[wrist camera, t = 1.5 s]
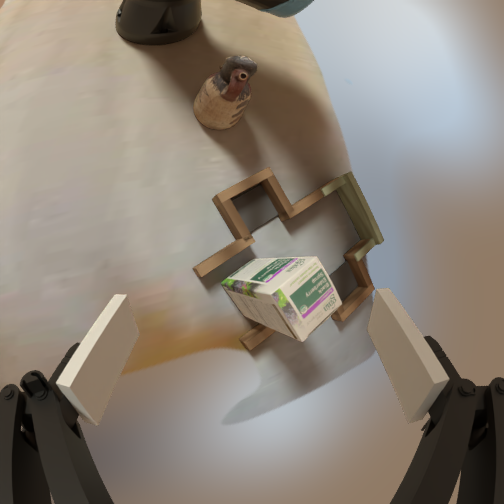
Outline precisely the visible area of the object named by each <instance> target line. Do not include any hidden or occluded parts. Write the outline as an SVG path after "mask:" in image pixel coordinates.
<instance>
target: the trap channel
mask: <svg viewBox="0 0 504 504" xmlns="http://www.w3.org/2000/svg"><path fill="white" fill-rule="evenodd" d="M259 183H260V185H259V186H258V187H256V188H254V189H252V190H250V191H249V192H247V193H245V194H243V195H241V196H240V197H238V198H236V199H234V200H232V201H231V199H232V198H233V197H235V196H237V195H239V194H241V193H242V192H244V191H246V190H248V189H250V188H251V187H253V186H255V185H257V184H259ZM334 190H336V191H337V193H338V194H339V196H340V198H341V200H342V202H343V204H344V206H345V208H346V210H347V212H348V214H349V216H350V218H351V220H352V222H353V224H354V226H355V228H356V230H357V233H358V235H359V237H360V239H361V240H360V241H359V242H358V243H357V244H356V245H354V246H353V247H352V248H351V249H350V250H349V251H348V252H347V253H345V254H344V255H343V256H344V258H345V260H346V262H344V263H343V264H342V265H341V266H340V267H339V268H338V269H337V270H335V271H334V272H333V273H332V274H331V275H330V276H329V277H330V279H331V281H332V283H333V285H334V287H335V289H336V291H337V293H338V295H339V297H340V300H341V302H342V301H343V300H344V299H345V298H346V297H347V296H348V295H349V294H350V293H351V292H352V291H353V290H354V289H355V288H356V287H357V286H358V287H357V288H356V289H355V290H354V291H353V292H352V293H351V294H350V295H349V296H348V297H347V298H346V299H345V300H344V301H343V302H342V305H341V306H340V307H339V308H338V309H337V310H336V311H335V312H334V313H333V314H332V315H331V317H332V319H333V320H338V321H342V322H343V321H344V320H345V319H346V318H347V317H348V316H349V315H350V314H351V313H352V312H353V311H354V310H355V309H356V308H357V307H358V306H359V305H360V304H361V303H362V302H363V301H364V300H365V299H366V298H367V297H368V296H369V295H370V294H371V293H372V291H373V290H374V289H375V288H374V286H373V283H372V281H371V279H370V276H369V274H368V272H367V269H366V267H365V265H364V263H363V260H362V257H363V256H364V255H365V254H367V253H368V252H369V251H370V249H372V248H373V247H374V246H375V245H377V244H381V243H382V242H383V241H384V239H383V237H382V234H381V232H380V230H379V227H378V225H377V223H376V221H375V219H374V216H373V214H372V212H371V210H370V208H369V206H368V203H367V202H366V199H365V197H364V195H363V193H362V191H361V189H360V187H359V185H358V183H357V181H356V179H355V178H354V176H353V174H352V172H349V173H346V174H344V175H342V176H339V177H337V178H335V179H333V180H332V181H330V182H328V183H327V184H325V185H323V186H322V187H320V188H318V189H317V190H315V191H314V192H312V193H310V194H309V195H307V196H305V197H304V198H302V199H301V200H299V201H297V202H296V203H294V204H293V205H291V204H290V202H289V200H288V198H287V197H286V195H285V193H284V191H283V190H282V188H281V186H280V184H279V183H278V181H277V179H276V178H275V176H274V174H273V172H272V171H271V169H270V167H268V168H266V169H264V170H262V171H260V172H258V173H256V174H254V175H252V176H250V177H248V178H247V179H245V180H243V181H241V182H239V183H237V184H235V185H233V186H231V187H230V188H228V189H226V190H224V191H222V192H220V193H218V194H217V195H216V196H215V197H214V198H213V199H212V200H213V202H214V204H215V205H216V207H217V209H218V210H219V212H220V214H221V216H222V217H223V219H224V221H225V222H226V224H227V226H228V227H229V229H230V231H231V232H232V234H233V236H234V237H235V239H236V240H235V241H234V242H232V243H231V244H229V245H228V246H226V247H225V248H223V249H221V250H220V251H218V252H217V253H215V254H214V255H212V256H211V257H209V258H207V259H206V260H204V261H203V262H201V263H200V264H198V265H197V266H195V267H194V268H193V270H194V272H195V273H196V275H197V276H198V277H203V276H204V275H206V274H207V273H209V272H210V271H212V270H213V269H215V268H216V267H218V266H219V265H221V264H222V263H224V262H225V261H227V260H228V259H230V258H231V257H233V256H234V255H236V254H237V253H239V252H240V251H242V250H243V249H245V248H246V247H248V246H249V245H251V244H252V243H254V242H255V240H254V239H253V237H252V235H251V233H250V232H251V231H253V230H255V229H256V228H258V227H259V226H261V225H262V224H264V223H266V222H267V221H269V220H270V219H272V218H274V217H275V216H277V215H278V216H279V218H280V220H281V221H284V220H288V219H291V218H292V217H294V216H295V215H297V214H298V213H300V212H301V211H303V210H304V209H306V208H307V207H309V206H310V205H312V204H313V203H315V202H317V201H318V200H320V199H321V198H323V197H324V196H327V195H328V194H330V193H331V192H333V191H334ZM275 331H276V330H274V329H271V328H269V327H267V326H265V325H262V324H260V323H259V324H258V325H257V326H256V327H254V328H253V329H252V330H250V331H249V332H248V333H246V334H245V335H244V336H242V337H241V338H239V340H240V341H241V343H242V344H243V346H245V347H246V348H247V349H249V350H250V351H251V350H252V349H253V348H255V347H256V346H257V345H258V344H260V343H261V342H262V341H264V340H265V339H266V338H267V337H269V336H270V335H271V334H273V333H274V332H275Z"/></svg>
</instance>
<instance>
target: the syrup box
mask: <svg viewBox="0 0 504 504" xmlns="http://www.w3.org/2000/svg"><path fill="white" fill-rule="evenodd" d="M221 284H222V286H223V287H224V289H225V290H226V291H227V293H228V294H229V296H230V297H231V298H232V300H233V301H234V303H235V304H236V305H237V307H238V308H239V310H240V311H241V312H242V314H243V315H244V316H245V317H247V318H250V319H252V320H254V321H256V322H258V323H260V324H262V325H265V326H267V327H269V328H271V329H274V330H276V331H278V332H280V333H282V334H285V335H287V336H289V337H291V338H294V339H296V340H298V341H301V342H303V341H304V340H305V339H306V338H307V337H308V336H309V335H310V334H311V333H312V332H313V331H315V330H316V329H317V328H318V327H319V326H320V325H322V324H323V323H324V322H325V321H326V320H327V319H328V318H329V317H330V316H331V315H332V314H333V313H334V312H335V311H336V310H337V309H338V308H339V307H340V306H341V305H342V302H341V300H340V297H339V295H338V293H337V291H336V289H335V287H334V285H333V283H332V281H331V279H330V277H329V275H328V274H327V272H326V270H325V269H324V267H323V265H322V264H321V262H320V261H319V259H318V258H317V257H316V256H312V257H289V258H266V259H252V260H251V261H249V262H248V263H247V264H245V265H244V266H242V267H241V268H239V269H238V270H237V271H235V272H234V273H233V274H231V275H230V276H229V277H227V278H226V279H225V280H223V281H222V282H221Z"/></svg>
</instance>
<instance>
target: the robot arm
mask: <svg viewBox="0 0 504 504" xmlns="http://www.w3.org/2000/svg"><path fill="white" fill-rule="evenodd" d="M236 1H239V2H241V3H244V4H246V5H249V6H251V7H254V8H256V9H257V10H260V11H263V12H267V13H270V14H273V15H275V16H278V17H283V18H286V17H291V16H293V15H295V14H297V13H299V12H300V11H302V10H303V9H304V8H306V7H307V6H308V5H309V4H311V3H312V1H314V0H236ZM201 15H202V12H201V0H123V2H122V4H121V6H120V7H119V9H118V12H117V15H116V30H117V32H118V33H119V34H120V35H121V36H122V37H123V38H125V39H127V40H129V41H131V42H135V43H139V44H146V45H161V44H168V43H173V42H177V41H180V40H182V39H184V38H186V37H188V36H190V35H191V34H192V33H193V32H194V31H195V30H196V29H197V27H198V25H199V22H200V19H201ZM367 331H368V333H369V335H370V337H371V339H372V342H373V344H374V346H375V348H376V350H377V352H378V354H379V356H380V359H381V361H382V363H383V365H384V367H385V370H386V372H387V374H388V376H389V379H390V381H391V383H392V386H393V388H394V390H395V392H396V395H397V397H398V400H399V402H400V404H401V407H402V410H403V412H404V414H405V417H406V419H407V422H408V423H412V422H415V421H418V420H421V419H423V418H424V416H425V415H426V413H427V412H429V414H430V419H429V420H428V421H427V423H426V424H425V425H424V426H423V428H422V429H421V430H422V431H423V430H424V429H425V431H424V433H423V436H422V439H421V441H420V444H419V446H418V449H417V451H416V453H415V456H414V458H413V460H412V462H411V464H410V466H409V468H408V471H407V473H406V475H405V477H404V479H403V481H402V483H401V484H400V486H399V488H398V490H397V492H396V494H395V496H394V497H393V499H392V501H391V502H390V504H448V503H449V501H450V498H451V496H452V493H453V491H454V488H455V485H456V482H457V479H458V477H459V474H460V471H461V477H460V485H459V492H458V498H457V504H504V379H503V378H500V377H498V378H495V379H493V380H492V381H491V383H490V384H489V386H476V385H475V384H474V383H473V382H472V381H470V380H468V379H461V377H460V376H459V374H458V373H457V371H456V369H455V368H454V366H453V365H452V363H451V362H450V360H449V359H448V357H446V354H445V353H444V351H442V348H441V347H440V345H439V344H438V342H437V341H436V340H434V339H433V338H432V337H430V336H425V337H423V336H422V334H421V333H420V331H419V330H418V328H417V327H416V325H415V324H414V323H413V321H412V320H411V318H410V317H409V315H408V314H407V312H406V311H405V309H404V308H403V307H402V306H401V304H400V303H399V301H398V300H397V298H396V297H395V296H394V294H393V293H392V292H391V290H390V289H389V288H383V289H376V294H375V298H374V302H373V307H372V311H371V315H370V319H369V323H368V327H367ZM138 336H139V331H138V328H137V325H136V322H135V319H134V316H133V313H132V309H131V306H130V303H129V299H128V296H127V295H121V294H115V295H114V297H113V298H112V299H111V301H110V302H109V304H108V305H107V306H106V308H105V309H104V310H103V312H102V313H101V315H100V316H99V317H98V319H97V320H96V322H95V323H94V325H93V326H92V328H91V329H90V330H89V332H88V333H87V335H86V336H85V338H84V339H83V341H82V342H81V343H76V344H75V345H73V346H72V347H71V348H70V349H69V350H68V352H67V353H66V355H65V358H63V359H62V361H61V363H60V364H59V365H58V367H57V368H56V370H55V372H54V373H53V375H52V376H51V378H50V380H49V381H47V380H46V378H45V377H44V375H43V374H42V373H41V372H40V371H37V370H34V371H30V372H28V373H26V374H25V375H24V376H23V378H22V379H21V382H20V386H21V387H22V389H23V390H24V391H25V392H21V391H20V390H19V388H18V387H17V386H16V385H14V384H9V385H6V386H5V387H4V388H3V389H2V390H1V392H0V504H52V503H51V496H50V492H51V494H52V497H53V500H54V503H55V504H114V503H113V501H112V499H111V498H110V495H109V493H108V491H107V489H106V487H105V485H104V483H103V481H102V479H101V477H100V475H99V473H98V471H97V468H96V466H95V464H94V461H93V459H92V457H91V454H90V452H89V449H88V447H87V444H86V441H85V438H84V436H83V433H82V430H81V427H80V424H79V423H78V421H77V418H78V416H79V415H80V416H81V418H82V419H83V420H84V421H85V422H87V423H90V424H93V425H97V426H98V425H99V423H100V420H101V418H102V416H103V413H104V411H105V408H106V406H107V404H108V401H109V399H110V397H111V394H112V392H113V390H114V387H115V385H116V383H117V381H118V379H119V376H120V374H121V372H122V370H123V368H124V366H125V363H126V361H127V359H128V357H129V355H130V353H131V351H132V349H133V347H134V344H135V342H136V340H137V338H138ZM21 426H22V427H23V430H22V431H21Z"/></svg>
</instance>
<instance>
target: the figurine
mask: <svg viewBox="0 0 504 504" xmlns="http://www.w3.org/2000/svg"><path fill="white" fill-rule="evenodd" d="M220 69H221V71H220V72H216V73H213V74H211V75H210V76H209V77H208V78H207V79H206V81H205V82H204V84H203V86H202V87H201V89H200V91H199V93H198V94H197V96H196V98H195V101H194V105H193V109H194V114H195V116H196V118H197V119H198V121H199V122H201V123H202V124H203V125H204V126H206V127H208V128H211V129H215V130H223V129H227V128H230V127H232V126H234V125H235V124H236V123H237V122H238V121H239V119H240V118H241V116H242V115H243V112H244V110H245V108H246V105H247V103H248V102H249V100H250V98H251V87H250V85H249V83H248V80H249V78H250V77H251V76H252V75H253V74H254V73H255V72H256V71H257V63H255V62H254V61H253V60H251V59H250V58H248V57H246V56H232V57H228V58H226V59H225V63H224V65H223V66H220Z"/></svg>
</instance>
